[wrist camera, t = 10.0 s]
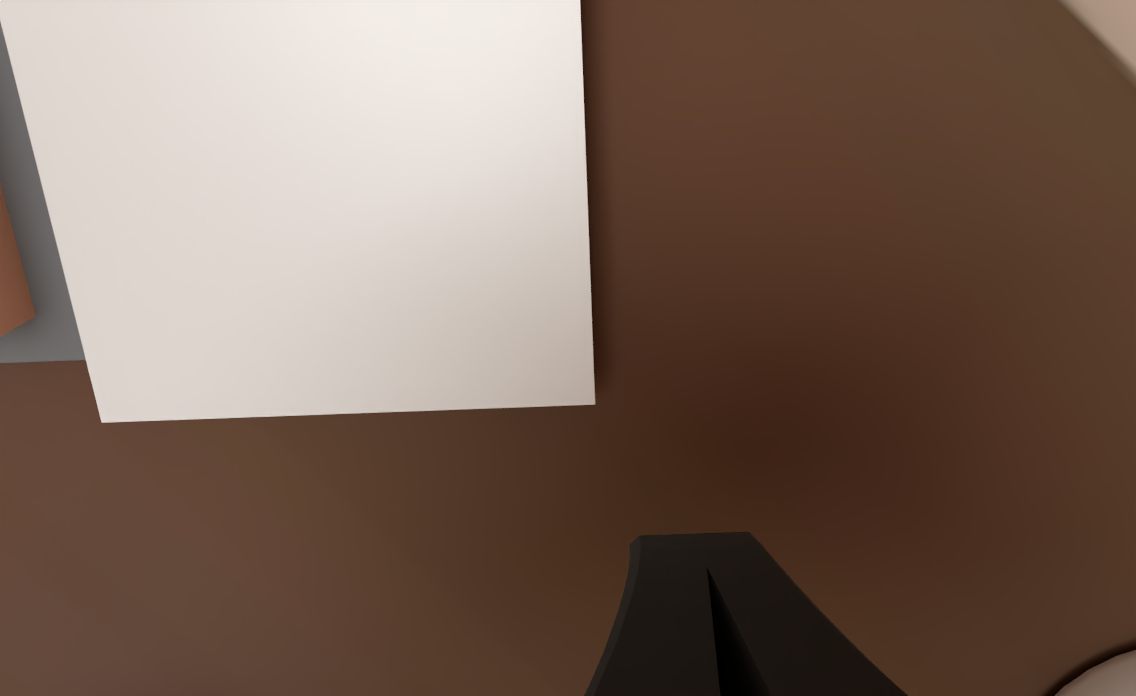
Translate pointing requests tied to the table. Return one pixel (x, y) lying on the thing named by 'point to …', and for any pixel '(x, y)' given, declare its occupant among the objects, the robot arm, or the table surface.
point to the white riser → (315, 201)
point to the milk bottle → (1106, 679)
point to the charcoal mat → (32, 240)
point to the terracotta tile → (12, 278)
